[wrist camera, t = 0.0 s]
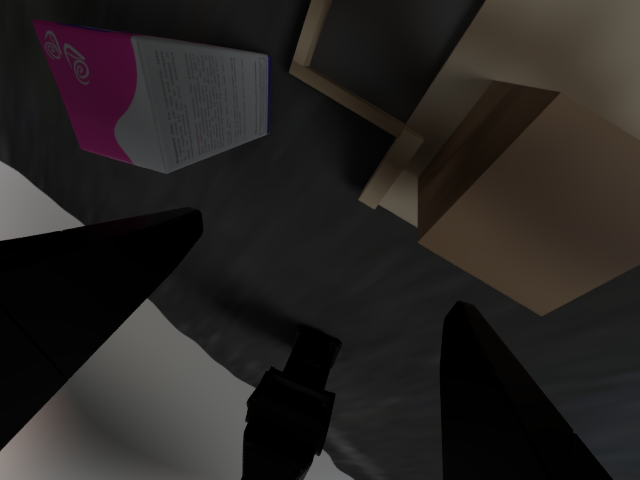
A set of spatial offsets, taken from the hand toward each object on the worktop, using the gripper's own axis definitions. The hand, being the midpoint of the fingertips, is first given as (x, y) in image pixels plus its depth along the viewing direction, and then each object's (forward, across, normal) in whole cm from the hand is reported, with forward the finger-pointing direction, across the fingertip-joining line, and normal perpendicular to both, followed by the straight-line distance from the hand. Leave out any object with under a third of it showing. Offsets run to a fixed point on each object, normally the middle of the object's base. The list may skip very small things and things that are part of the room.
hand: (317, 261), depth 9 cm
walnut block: (+14, -8, -2) cm, 16 cm away
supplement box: (+15, +12, -2) cm, 19 cm away
